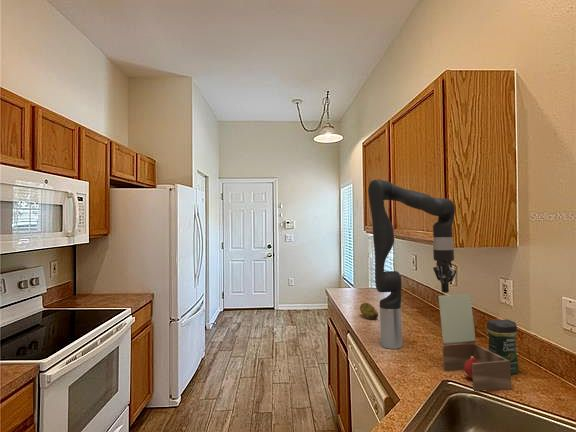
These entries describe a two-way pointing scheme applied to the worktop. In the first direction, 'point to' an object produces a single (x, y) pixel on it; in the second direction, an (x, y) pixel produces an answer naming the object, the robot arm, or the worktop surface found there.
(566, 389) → the worktop surface
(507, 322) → the coffee jar
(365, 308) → the avocado
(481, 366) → the cubby
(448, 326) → the lid
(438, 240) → the robot arm
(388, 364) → the worktop surface
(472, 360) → the onion
